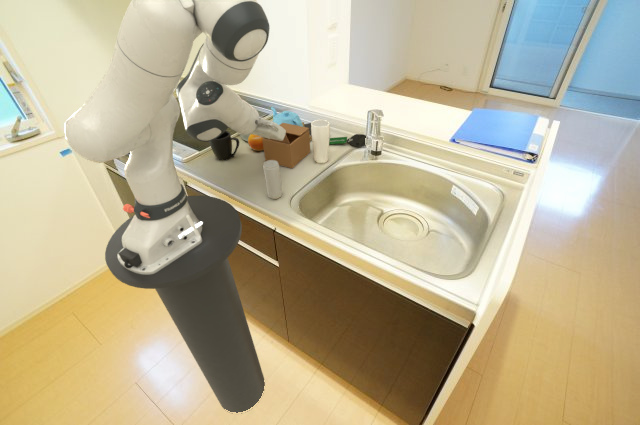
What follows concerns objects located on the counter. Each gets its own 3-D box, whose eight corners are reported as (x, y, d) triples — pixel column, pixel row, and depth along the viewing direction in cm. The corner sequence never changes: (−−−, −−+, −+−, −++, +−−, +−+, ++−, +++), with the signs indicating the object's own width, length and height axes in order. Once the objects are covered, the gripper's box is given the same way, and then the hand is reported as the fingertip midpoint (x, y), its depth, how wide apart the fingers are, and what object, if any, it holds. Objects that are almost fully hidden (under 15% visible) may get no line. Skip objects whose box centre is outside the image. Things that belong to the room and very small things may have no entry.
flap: (289, 143, 110) (289, 143, 110) (262, 136, 115) (261, 137, 114) (283, 129, 104) (283, 130, 104) (254, 123, 109) (254, 124, 109)
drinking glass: (309, 163, 119) (307, 125, 110) (316, 155, 124) (315, 118, 115) (326, 166, 117) (326, 128, 108) (332, 157, 122) (332, 120, 113)
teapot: (281, 101, 140) (309, 111, 130) (283, 124, 147) (310, 135, 137) (258, 109, 133) (287, 121, 123) (262, 133, 140) (289, 145, 130)
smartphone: (329, 136, 136) (317, 123, 148) (328, 134, 136) (317, 121, 147) (313, 139, 135) (302, 126, 146) (312, 137, 134) (302, 124, 145)
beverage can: (285, 196, 103) (281, 164, 95) (272, 201, 101) (267, 169, 93) (278, 189, 106) (274, 158, 98) (265, 194, 104) (260, 162, 96)
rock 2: (358, 140, 135) (360, 151, 134) (345, 140, 131) (347, 151, 130) (371, 131, 127) (374, 143, 126) (358, 130, 124) (360, 142, 123)
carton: (292, 168, 116) (289, 143, 110) (265, 161, 121) (261, 136, 114) (310, 152, 126) (309, 127, 120) (285, 146, 130) (282, 122, 124)
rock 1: (237, 135, 135) (246, 130, 137) (238, 139, 136) (247, 134, 139) (251, 142, 130) (260, 137, 133) (252, 146, 132) (260, 141, 135)
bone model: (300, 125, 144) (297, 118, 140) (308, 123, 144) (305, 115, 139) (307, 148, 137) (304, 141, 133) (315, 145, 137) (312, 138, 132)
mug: (236, 165, 119) (231, 142, 113) (209, 160, 123) (203, 137, 117) (247, 155, 125) (242, 132, 119) (221, 150, 128) (216, 128, 123)
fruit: (251, 134, 132) (252, 123, 124) (271, 141, 133) (273, 130, 126) (245, 150, 128) (245, 140, 121) (265, 157, 130) (267, 148, 122)
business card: (345, 143, 128) (347, 137, 132) (345, 142, 128) (347, 136, 132) (325, 145, 131) (327, 138, 134) (325, 144, 131) (327, 138, 134)
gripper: (276, 114, 90) (296, 133, 103) (221, 104, 98) (246, 122, 110) (268, 135, 90) (290, 151, 102) (215, 123, 98) (241, 139, 110)
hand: (267, 136), depth 107 cm, fingers closed
